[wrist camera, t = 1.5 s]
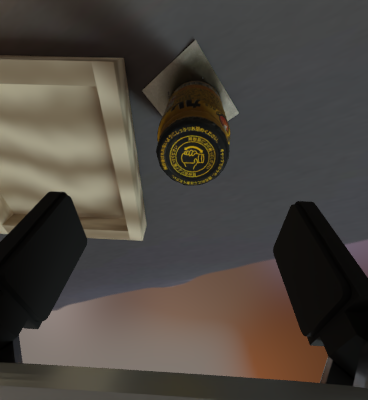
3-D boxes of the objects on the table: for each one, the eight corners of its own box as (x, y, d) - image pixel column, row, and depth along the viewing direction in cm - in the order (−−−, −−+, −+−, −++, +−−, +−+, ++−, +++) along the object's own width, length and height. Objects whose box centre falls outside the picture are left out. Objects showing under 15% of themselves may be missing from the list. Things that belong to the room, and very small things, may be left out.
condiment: (188, 147, 27) (183, 208, 18) (142, 90, 23) (104, 129, 14) (238, 112, 24) (264, 163, 15) (195, 39, 20) (193, 46, 11)
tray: (-102, 53, 22) (-144, 55, 20) (124, 57, 22) (113, 61, 19) (11, 218, 37) (-4, 233, 35) (146, 224, 36) (142, 240, 34)
